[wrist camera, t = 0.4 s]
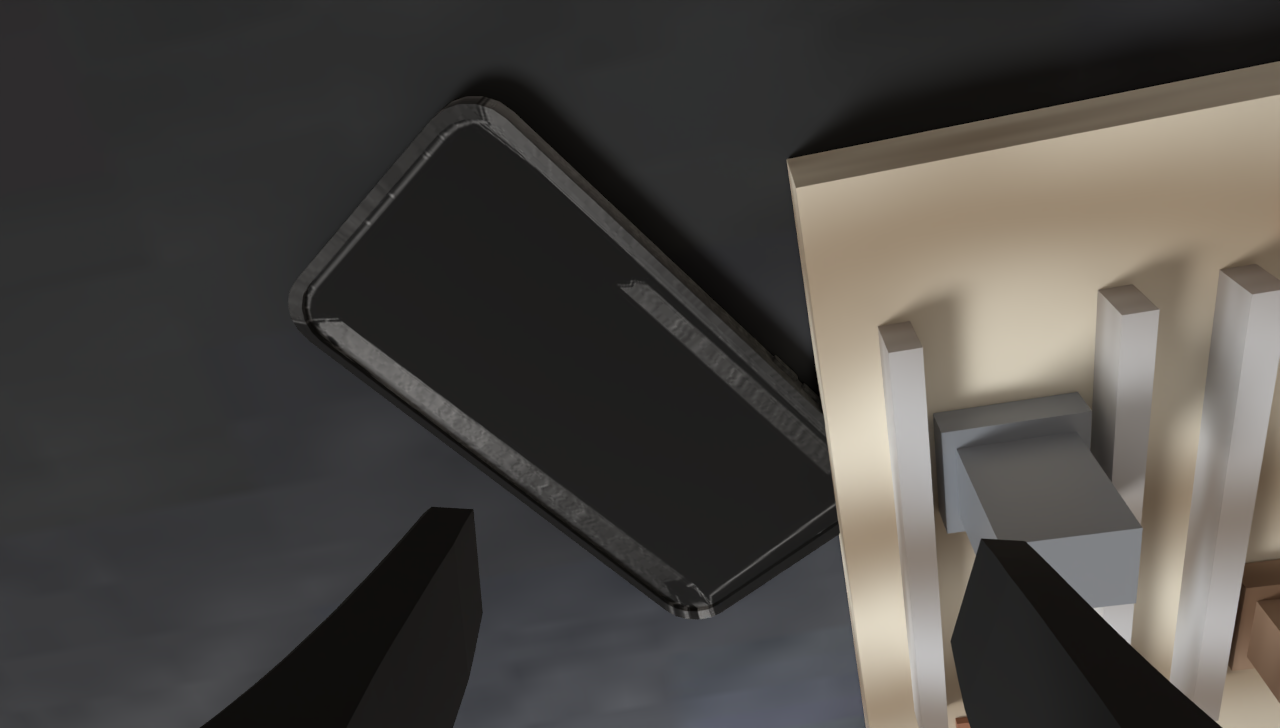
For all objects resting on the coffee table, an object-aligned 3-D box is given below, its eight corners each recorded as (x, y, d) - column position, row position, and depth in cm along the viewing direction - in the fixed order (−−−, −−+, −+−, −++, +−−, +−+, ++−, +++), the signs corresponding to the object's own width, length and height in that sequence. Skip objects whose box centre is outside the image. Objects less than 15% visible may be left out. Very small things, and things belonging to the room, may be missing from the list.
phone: (693, 631, 26) (269, 311, 21) (693, 603, 27) (287, 292, 22) (907, 488, 23) (467, 76, 18) (898, 463, 24) (479, 65, 19)
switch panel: (1358, 686, 26) (1436, 781, 24) (866, 732, 29) (884, 823, 26) (1549, 7, 17) (1718, 34, 14) (786, 159, 19) (802, 208, 16)
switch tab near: (1074, 494, 21) (1150, 618, 17) (939, 512, 21) (987, 636, 18) (1077, 391, 19) (1162, 505, 16) (932, 413, 20) (984, 528, 16)
